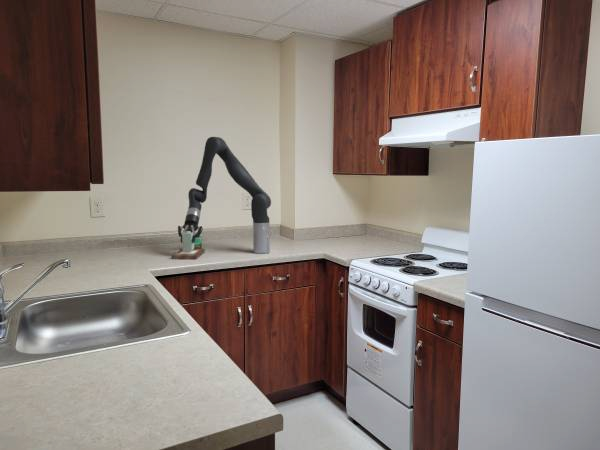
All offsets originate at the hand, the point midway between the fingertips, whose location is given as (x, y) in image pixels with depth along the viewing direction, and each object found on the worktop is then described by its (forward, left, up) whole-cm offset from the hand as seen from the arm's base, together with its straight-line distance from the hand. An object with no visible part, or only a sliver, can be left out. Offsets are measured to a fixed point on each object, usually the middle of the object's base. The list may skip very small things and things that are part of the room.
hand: (187, 242), depth 243 cm
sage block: (0, -2, -4) cm, 5 cm away
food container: (0, -20, -8) cm, 21 cm away
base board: (0, -2, -8) cm, 8 cm away
